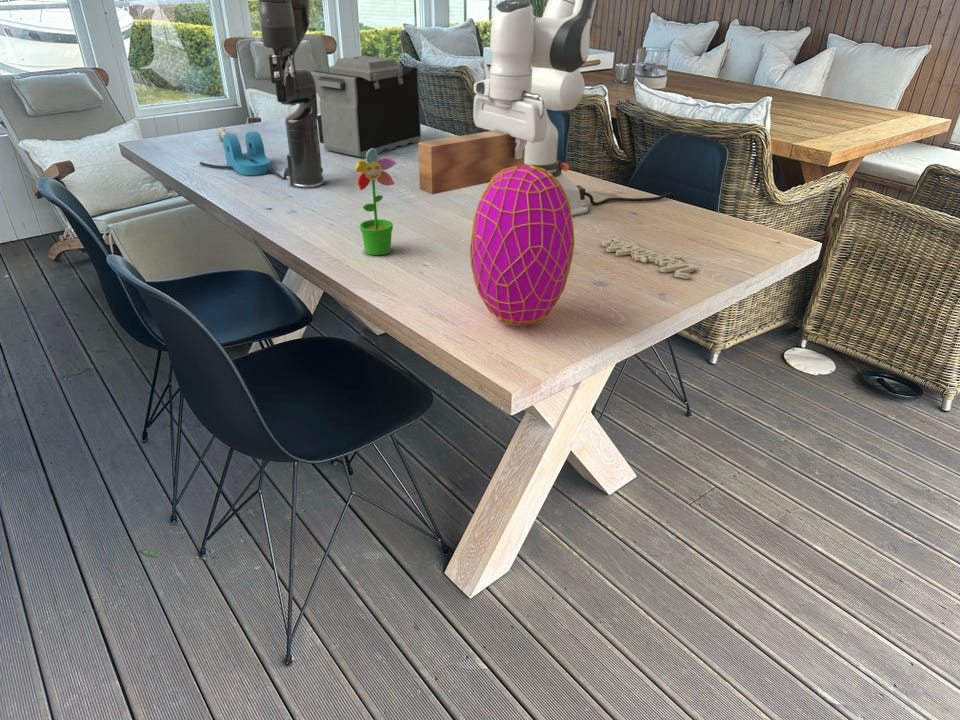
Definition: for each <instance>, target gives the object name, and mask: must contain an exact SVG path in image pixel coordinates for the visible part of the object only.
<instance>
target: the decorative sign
mask: <svg viewBox="0 0 960 720" xmlns="http://www.w3.org/2000/svg"><path fill="white" fill-rule="evenodd" d="M601 246H602V247H604V248H605V247H606V252H607V253H615V255H616V256H628V255H630V256H631V259H632V260H634V261H635V262H642V263H644V264H646V263H648V262H649V263H654V264H655V265H659V266H660V270H659V271H660V272H661V273H670V272H671V273H672V272H674V277H676V278H679V279H685V280H686V279H687V280H689V279H690V278H691V273H693V272H694V271H695V270H696V269H695V268H696V266H695V264H692V263H684V261H683V260H682V259H683V258H682V257H683V256H682V255H681V254H672V255H664V254H662V253H659V252H658V253H656V252H655V251H653V250H650V249H645V248H644V247H642V246H641V247H640V246H637V245H635V244H630V242H626V241H623V240H618V239H617V238H613V237H612V238H608V240H607V241H606V240H602V242H601Z"/></svg>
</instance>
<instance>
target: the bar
mask: <svg viewBox="0 0 960 720" xmlns="http://www.w3.org/2000/svg"><path fill="white" fill-rule="evenodd" d="M515 140H516V138H515V137H511V136H510V134H508V133H505V132H501V131H497V130H494V131H490V130H487V131H483V132H476V133H469V134H464V135H458V136H451V137H443V138H438V139H432V140H425V141H418V142H417V144H418V174H419V175H418V176H419V177H418V178H419V180H418V181H419V190H420V191H422V192H425V193H428V194H430V195H437V194H442V193H446V192H451V191H456V190H460V189H465V188H470V187H475V186H479V185H484V184H489V183H490V181H491V179H492V178H493V177H494V176H495V175H496V174H497V173H499V172H500V171H501V170H503V169H506V168H509V167H513V166H516V165H524V158H525V147H524V149H523V153H522V158H521V159H515V158H513V157H512V150H514V149H515V148H516V145H517V143H516V142H515Z"/></svg>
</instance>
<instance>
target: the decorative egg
mask: <svg viewBox="0 0 960 720" xmlns="http://www.w3.org/2000/svg"><path fill="white" fill-rule="evenodd" d="M573 221H574V220H573V216H572V213H571V207H570V204H569V201H568V198H567V195H566V193H565V191H564V189H563V188H562V186H561V184H560V182H559V181H558V180H557V179H556V178H555V177H554V176H553V175H552V174H551V173H550V172H549V171H547V170H545V169H542V168H539V167H536V166H532V165H516V166H513V167H509V168H506V169H503V170H501V171H500V172H499V173H497V174H496V175H495V176H494V177H493V178H492V179H491V181H490V182H489V183H487V186H486V187H485V189H484V191H483V192H482V194H481V196H480V199H479V202H478V205H477V206H476V209H475V212H474V217H473V222H472V229H471V236H470V245H469V251H470V252H469V253H470V255H469V256H470V267H471V272H472V276H473V280H474V284H475V287H476V290H477V292H478V294H479V298H480V299H481V300H482V302H483V303H484V305H485V307H486V308H487V310H488V312H489V313H490V314H491V315H492V316H494V317H495V318H496V319H498V320H500V321H501V322H503V323H505V324H508V325H512V326H528V325H532V324H535V323H538V322H539V321H542V319H544V318H546V317H547V316H548V315H549V314H550V313H551V311H552V310H553V309H554V307H555V306H556V304H557V303H558V301H559V300H560V298H561V297H562V294H563V292H564V290H565V288H566V286H567V282H568V278H569V274H570V271H571V265H572V261H573V256H574V250H575V242H576V241H575V229H574V222H573Z"/></svg>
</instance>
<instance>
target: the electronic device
mask: <svg viewBox="0 0 960 720" xmlns="http://www.w3.org/2000/svg"><path fill="white" fill-rule="evenodd" d="M310 72H311V73H312V75H313V77H314V80H315V85H316V95H317V96H318V98H319V110H320V111H319V112H320V114H319V115H318V118H317V127H318V137H319V144H323V146H324V149H325V150H327V151H330V152H335V153H340V154H344V155H348V156H353V157H357V158H362V159H363V158H366V153H367V152H368V151H369V150H370V149H371V148H374V149H376V151H377V153H378V154H381V153H382V152H383V151H391V150H395V149H396V148H397V147H405V146H407V145H408V144H416V143H419V142H420V141H421V137H422V128H421V97H420V92H419V91H420V89H419V68H418V67H417V66H408V65H400V64H396V62H395V60H394V59H393V58H385V57H377V56H367V55H356V56H353V57H350V58H349V57H343V58H342V57H341V58H337V59H336V60H335V63H334V64H333V65H330V66H329V67H328V72H327V71H320V70H314V71H313V70H312V71H310Z"/></svg>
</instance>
